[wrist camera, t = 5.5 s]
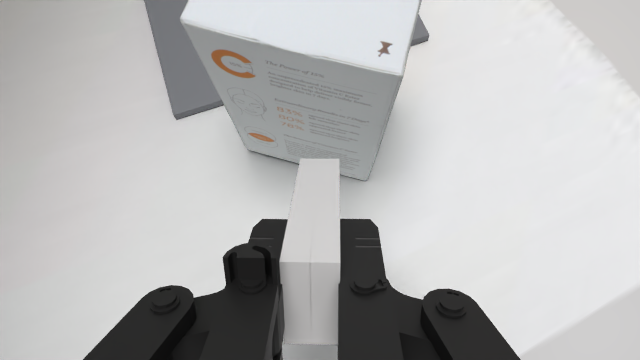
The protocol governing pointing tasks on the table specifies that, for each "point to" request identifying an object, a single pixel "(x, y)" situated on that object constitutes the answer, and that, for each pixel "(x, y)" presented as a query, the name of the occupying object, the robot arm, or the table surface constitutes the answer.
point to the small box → (306, 72)
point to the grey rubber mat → (195, 59)
